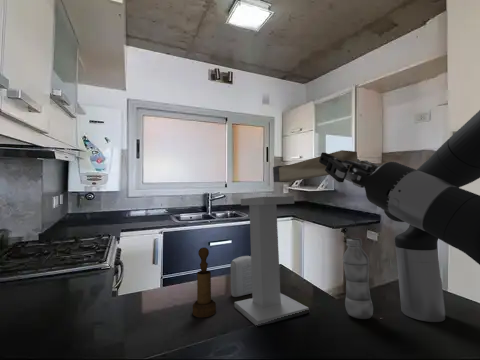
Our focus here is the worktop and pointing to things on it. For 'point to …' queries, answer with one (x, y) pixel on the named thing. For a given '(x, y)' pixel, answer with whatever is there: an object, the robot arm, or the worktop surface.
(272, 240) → the stand
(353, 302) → the plastic bottle
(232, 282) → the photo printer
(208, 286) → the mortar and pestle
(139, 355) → the worktop surface
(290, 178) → the birch bar
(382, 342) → the worktop surface
